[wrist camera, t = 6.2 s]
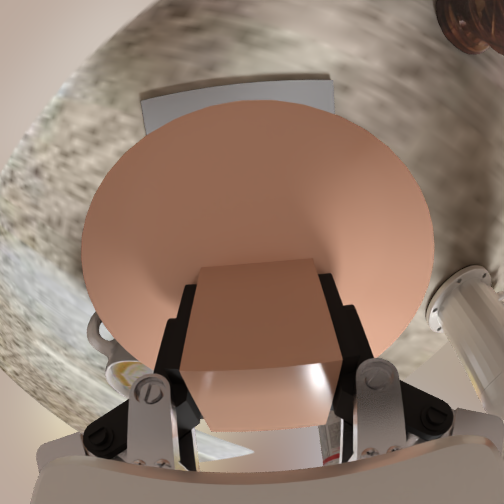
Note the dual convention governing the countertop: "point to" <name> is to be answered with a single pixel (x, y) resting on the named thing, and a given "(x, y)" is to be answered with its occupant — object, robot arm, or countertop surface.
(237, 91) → the mat
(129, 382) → the coffee mug
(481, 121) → the countertop surface
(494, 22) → the mortar and pestle
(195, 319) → the lid
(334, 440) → the spray can
